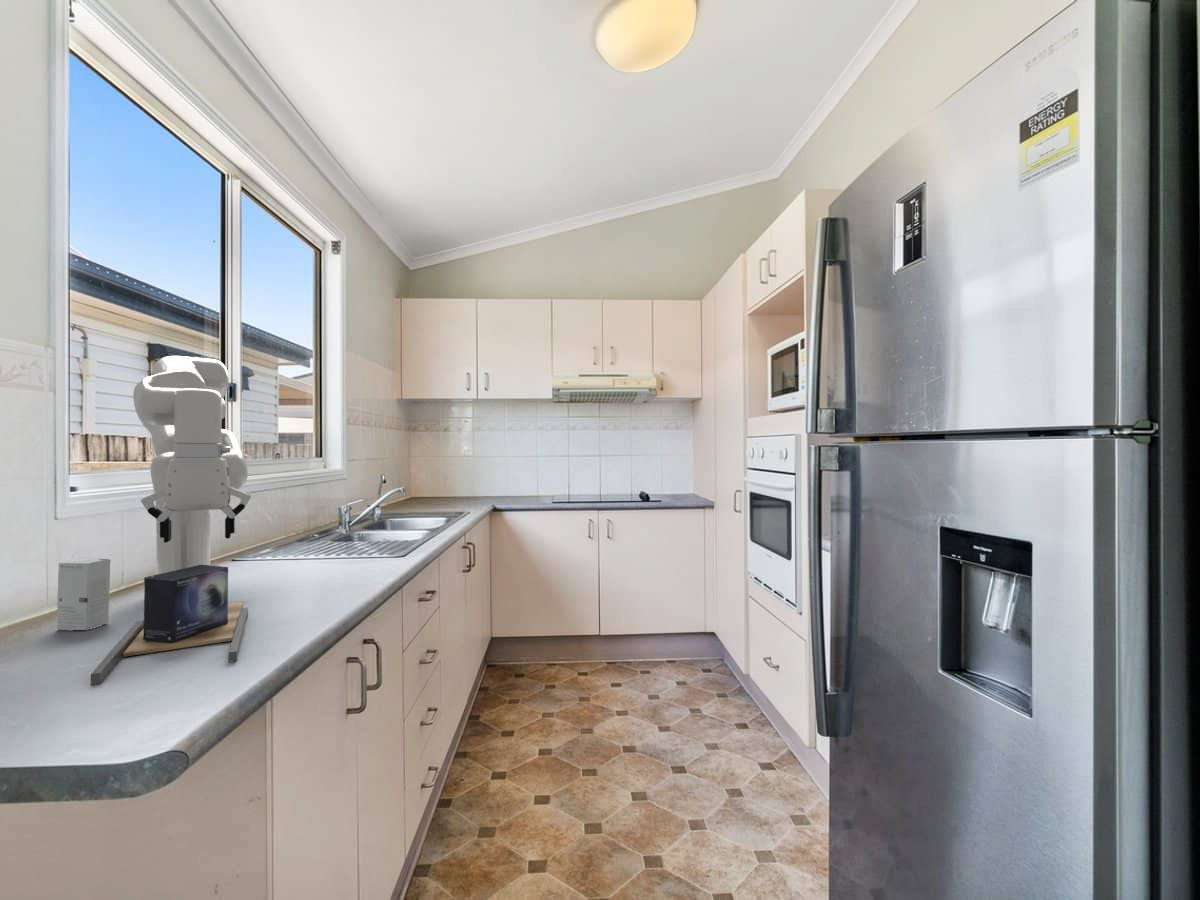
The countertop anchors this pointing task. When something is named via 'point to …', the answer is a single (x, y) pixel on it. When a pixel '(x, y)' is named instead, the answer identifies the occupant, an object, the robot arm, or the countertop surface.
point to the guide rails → (129, 637)
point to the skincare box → (83, 593)
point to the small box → (185, 602)
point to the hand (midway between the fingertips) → (198, 539)
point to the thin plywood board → (203, 638)
